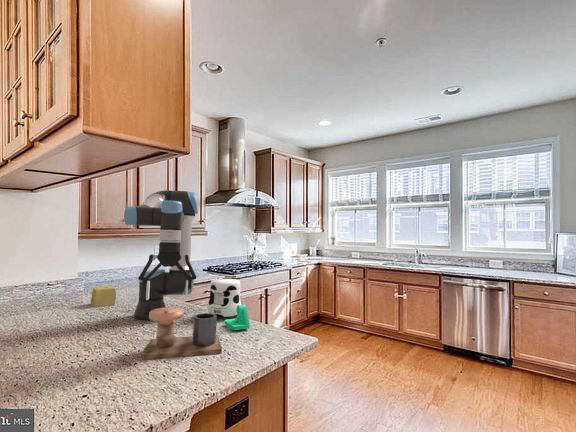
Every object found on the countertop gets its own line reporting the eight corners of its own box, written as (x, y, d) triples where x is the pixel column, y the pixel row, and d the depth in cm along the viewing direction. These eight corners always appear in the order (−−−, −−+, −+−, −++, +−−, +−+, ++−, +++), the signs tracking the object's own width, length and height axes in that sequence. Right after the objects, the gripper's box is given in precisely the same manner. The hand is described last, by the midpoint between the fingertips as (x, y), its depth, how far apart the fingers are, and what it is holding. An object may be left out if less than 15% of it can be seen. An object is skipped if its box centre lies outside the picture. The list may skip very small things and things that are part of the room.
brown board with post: (144, 359, 106) (145, 331, 107) (150, 343, 122) (151, 318, 122) (221, 353, 114) (222, 326, 114) (218, 338, 129) (219, 315, 130)
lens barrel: (187, 343, 119) (189, 316, 119) (204, 337, 126) (206, 312, 126) (203, 348, 114) (204, 320, 114) (219, 341, 121) (220, 315, 121)
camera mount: (223, 325, 147) (224, 303, 148) (238, 323, 151) (239, 301, 152) (233, 332, 137) (234, 309, 137) (249, 330, 141) (250, 307, 142)
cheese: (90, 304, 178) (91, 286, 179) (111, 301, 186) (112, 285, 186) (94, 308, 171) (95, 289, 171) (115, 305, 178) (116, 287, 178)
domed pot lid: (146, 329, 109) (147, 314, 109) (150, 319, 120) (151, 305, 120) (182, 327, 112) (183, 312, 112) (183, 318, 124) (184, 304, 124)
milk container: (235, 310, 174) (237, 278, 175) (245, 318, 159) (246, 283, 160) (204, 313, 167) (205, 279, 168) (210, 322, 151) (212, 284, 152)
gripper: (131, 241, 110) (128, 302, 109) (204, 242, 118) (202, 299, 116) (135, 240, 118) (132, 297, 116) (203, 242, 125) (201, 295, 123)
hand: (167, 298), depth 116 cm, fingers open, 13 cm apart
